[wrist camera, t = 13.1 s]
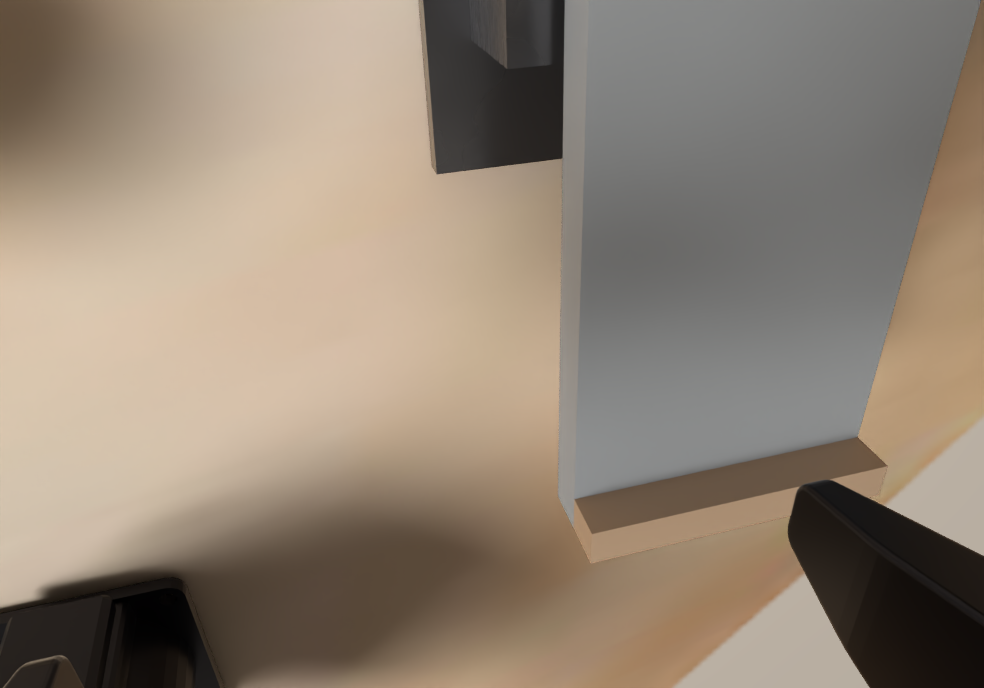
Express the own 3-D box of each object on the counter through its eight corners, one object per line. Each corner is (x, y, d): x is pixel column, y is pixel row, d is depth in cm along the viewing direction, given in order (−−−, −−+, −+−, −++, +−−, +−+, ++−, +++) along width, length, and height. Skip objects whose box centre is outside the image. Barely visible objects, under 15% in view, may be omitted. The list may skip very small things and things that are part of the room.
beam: (822, 438, 22) (878, 494, 20) (557, 496, 20) (590, 563, 18) (1146, -848, 10) (1360, -1018, 8) (577, -948, 9) (673, -1185, 7)
